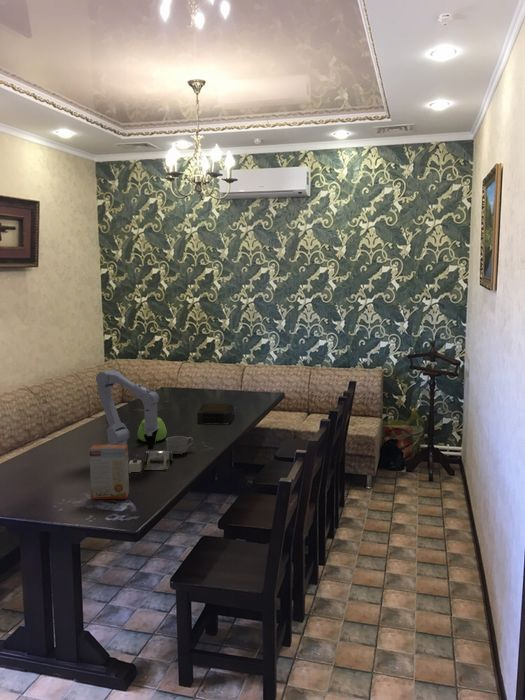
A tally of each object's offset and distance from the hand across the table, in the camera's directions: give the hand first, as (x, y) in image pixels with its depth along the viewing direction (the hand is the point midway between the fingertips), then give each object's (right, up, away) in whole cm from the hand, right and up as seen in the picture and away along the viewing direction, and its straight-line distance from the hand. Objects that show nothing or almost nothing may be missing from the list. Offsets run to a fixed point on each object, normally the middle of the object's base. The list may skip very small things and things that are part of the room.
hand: (151, 446), depth 269 cm
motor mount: (+2, -9, +4) cm, 10 cm away
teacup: (+10, -7, +23) cm, 26 cm away
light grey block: (-6, -10, -5) cm, 13 cm away
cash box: (+23, +1, +92) cm, 95 cm away
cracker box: (-10, -14, -36) cm, 40 cm away
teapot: (-9, -4, +45) cm, 46 cm away
